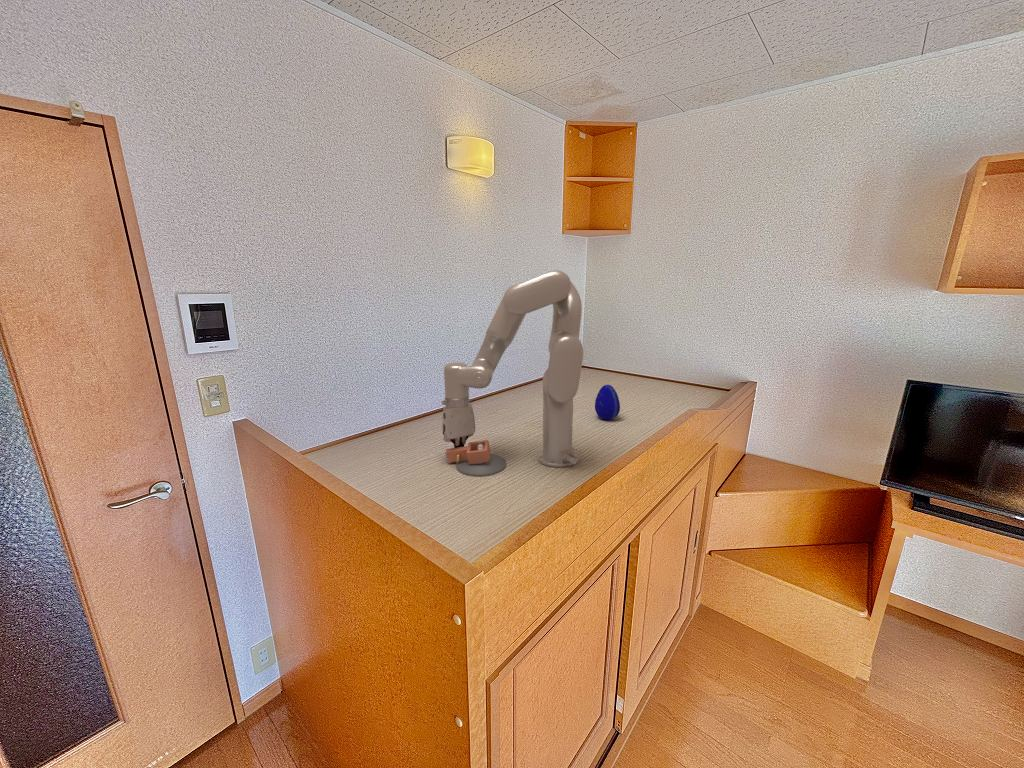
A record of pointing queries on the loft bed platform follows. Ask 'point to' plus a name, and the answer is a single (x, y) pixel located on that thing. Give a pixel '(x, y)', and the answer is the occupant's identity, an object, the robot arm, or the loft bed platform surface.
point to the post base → (482, 466)
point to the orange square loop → (470, 453)
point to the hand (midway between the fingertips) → (459, 454)
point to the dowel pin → (458, 458)
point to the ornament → (607, 403)
